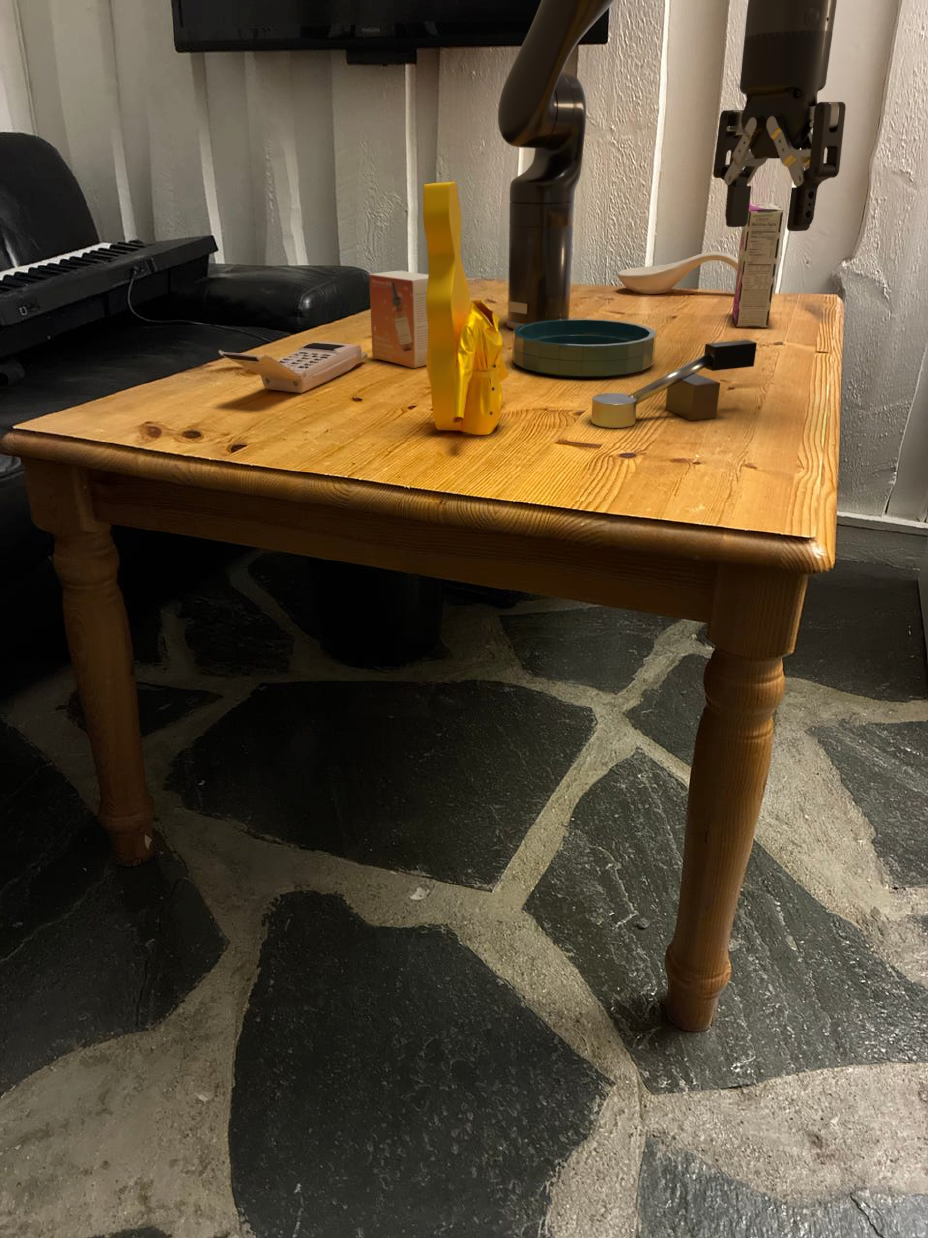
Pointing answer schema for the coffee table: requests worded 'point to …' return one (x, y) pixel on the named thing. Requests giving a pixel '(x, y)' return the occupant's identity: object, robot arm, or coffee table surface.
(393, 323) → the small box
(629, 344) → the bowl
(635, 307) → the coffee table surface
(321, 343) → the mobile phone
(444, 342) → the figure statuette
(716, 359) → the ladle
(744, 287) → the candy bar box
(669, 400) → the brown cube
